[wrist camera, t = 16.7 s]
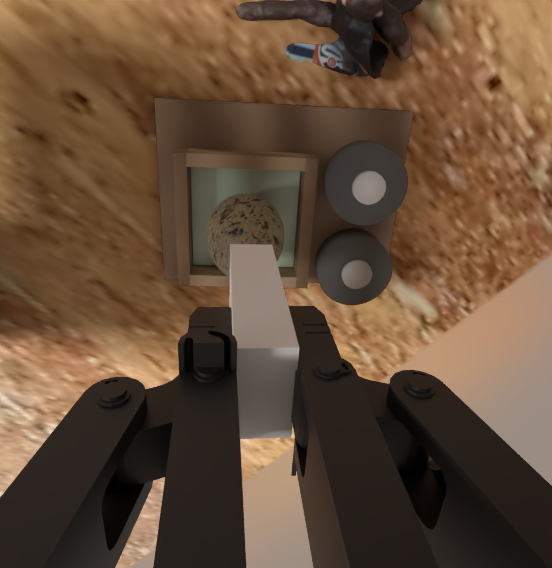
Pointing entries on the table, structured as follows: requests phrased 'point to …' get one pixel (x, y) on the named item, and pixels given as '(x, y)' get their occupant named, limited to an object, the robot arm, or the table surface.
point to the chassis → (272, 188)
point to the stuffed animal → (343, 31)
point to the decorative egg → (243, 227)
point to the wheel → (365, 182)
